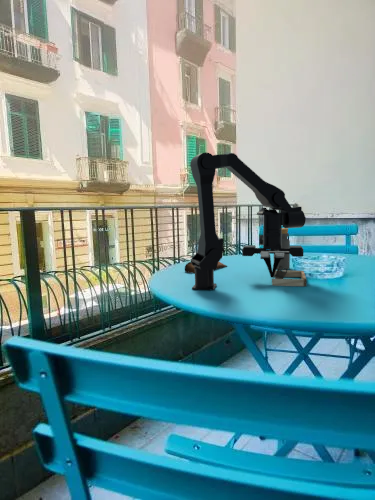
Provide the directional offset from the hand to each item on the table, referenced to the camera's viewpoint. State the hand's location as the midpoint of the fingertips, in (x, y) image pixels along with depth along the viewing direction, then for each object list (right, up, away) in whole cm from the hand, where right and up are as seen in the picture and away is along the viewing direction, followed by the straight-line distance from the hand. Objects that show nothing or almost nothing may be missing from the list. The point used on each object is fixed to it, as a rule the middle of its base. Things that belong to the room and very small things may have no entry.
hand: (272, 277), depth 117 cm
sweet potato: (-20, +1, +23) cm, 30 cm away
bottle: (+8, +2, +20) cm, 21 cm away
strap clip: (+2, -1, 0) cm, 2 cm away
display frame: (+5, -1, -1) cm, 5 cm away
